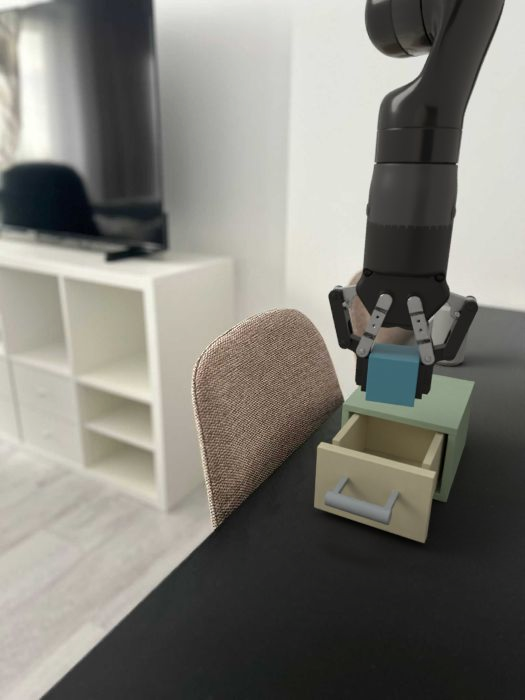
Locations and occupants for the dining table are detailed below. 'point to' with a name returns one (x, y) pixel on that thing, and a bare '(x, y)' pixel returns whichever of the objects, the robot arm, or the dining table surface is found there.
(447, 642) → the dining table surface
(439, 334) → the beverage can
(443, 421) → the cabinet
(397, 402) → the small sky-blue cube
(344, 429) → the drawer
